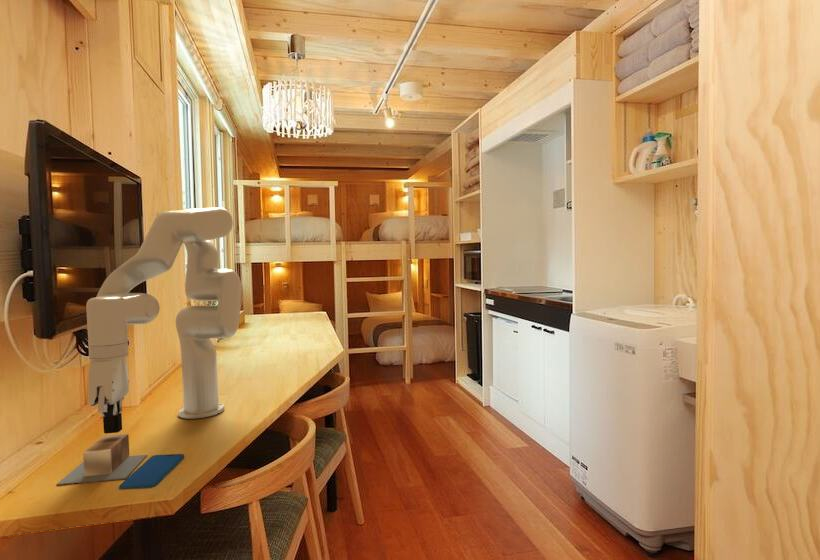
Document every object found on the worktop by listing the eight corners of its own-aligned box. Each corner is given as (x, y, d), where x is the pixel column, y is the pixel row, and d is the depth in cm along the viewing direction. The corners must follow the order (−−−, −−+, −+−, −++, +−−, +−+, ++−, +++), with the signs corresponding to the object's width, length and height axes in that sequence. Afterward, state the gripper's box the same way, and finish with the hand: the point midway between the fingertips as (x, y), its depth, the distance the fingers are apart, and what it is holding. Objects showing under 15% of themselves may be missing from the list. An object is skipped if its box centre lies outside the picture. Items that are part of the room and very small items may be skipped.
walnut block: (104, 435, 111) (83, 452, 101) (128, 433, 112) (109, 450, 102) (105, 457, 111) (84, 476, 101) (129, 455, 112) (110, 474, 102)
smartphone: (116, 487, 96) (152, 455, 111) (116, 492, 96) (153, 459, 111) (154, 486, 96) (185, 453, 111) (155, 490, 96) (186, 457, 111)
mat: (85, 461, 110) (85, 459, 110) (147, 455, 112) (147, 454, 112) (56, 485, 98) (56, 484, 98) (126, 479, 100) (126, 477, 100)
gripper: (105, 346, 116) (109, 422, 116) (73, 359, 101) (78, 445, 102) (139, 344, 117) (143, 419, 118) (112, 357, 102) (117, 442, 103)
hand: (113, 431), depth 110 cm, fingers closed
